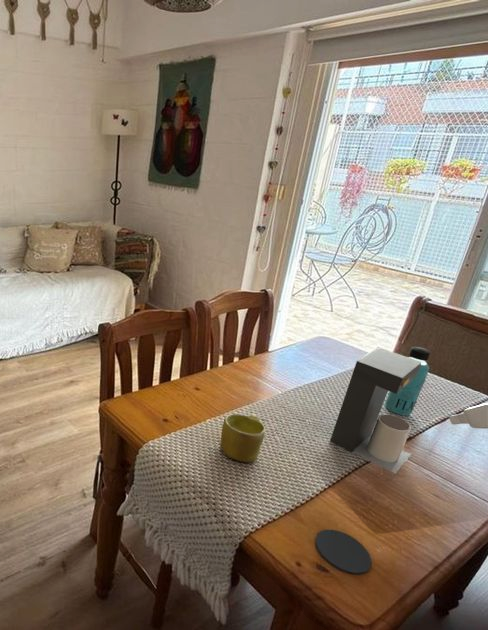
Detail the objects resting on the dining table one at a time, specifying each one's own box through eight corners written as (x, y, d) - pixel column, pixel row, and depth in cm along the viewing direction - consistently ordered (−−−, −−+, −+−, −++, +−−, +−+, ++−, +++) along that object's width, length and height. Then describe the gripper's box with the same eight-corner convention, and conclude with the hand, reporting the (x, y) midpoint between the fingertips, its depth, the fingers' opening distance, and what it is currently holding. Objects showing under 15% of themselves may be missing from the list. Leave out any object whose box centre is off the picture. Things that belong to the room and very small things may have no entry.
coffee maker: (411, 457, 106) (449, 371, 96) (392, 478, 99) (431, 389, 89) (349, 427, 116) (377, 346, 106) (328, 444, 109) (356, 360, 99)
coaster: (382, 571, 78) (383, 569, 78) (337, 577, 77) (338, 575, 76) (345, 528, 86) (346, 526, 86) (304, 533, 85) (305, 532, 85)
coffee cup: (405, 461, 103) (418, 429, 99) (381, 463, 102) (394, 431, 98) (383, 442, 108) (395, 412, 105) (360, 445, 107) (371, 414, 104)
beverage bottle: (387, 417, 120) (413, 353, 112) (378, 404, 126) (401, 342, 118) (414, 422, 118) (442, 357, 110) (404, 407, 124) (429, 345, 116)
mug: (249, 470, 97) (250, 426, 97) (210, 456, 106) (211, 415, 105) (279, 459, 104) (280, 417, 104) (240, 446, 113) (241, 408, 112)
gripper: (567, 383, 85) (481, 397, 97) (517, 393, 76) (430, 407, 88) (584, 416, 83) (495, 426, 95) (535, 430, 74) (444, 439, 86)
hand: (463, 417), depth 91 cm, fingers open, 8 cm apart
